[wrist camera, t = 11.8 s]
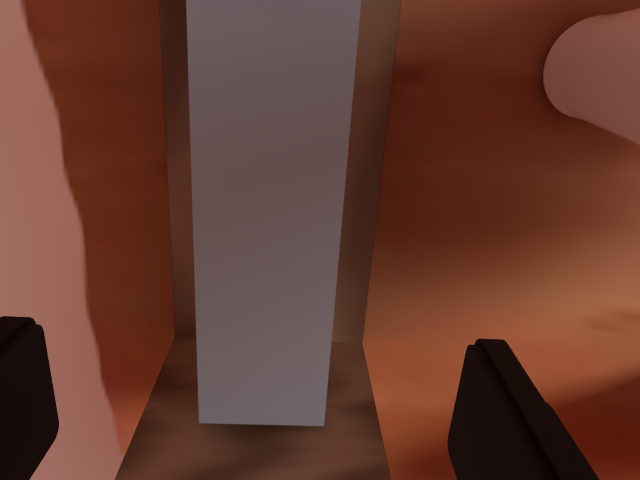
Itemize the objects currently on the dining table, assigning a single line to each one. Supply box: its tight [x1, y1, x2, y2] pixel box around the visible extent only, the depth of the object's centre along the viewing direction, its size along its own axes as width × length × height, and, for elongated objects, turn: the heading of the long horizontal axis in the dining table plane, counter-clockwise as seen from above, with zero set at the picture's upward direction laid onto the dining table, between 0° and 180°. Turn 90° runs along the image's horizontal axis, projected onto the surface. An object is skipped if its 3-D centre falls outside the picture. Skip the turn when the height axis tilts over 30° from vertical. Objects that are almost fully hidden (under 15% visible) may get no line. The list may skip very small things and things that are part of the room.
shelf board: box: [186, 0, 361, 426], centre depth 21 cm, size 20×6×2 cm, turn 176°
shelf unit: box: [115, 0, 401, 480], centre depth 23 cm, size 12×24×14 cm, turn 176°
